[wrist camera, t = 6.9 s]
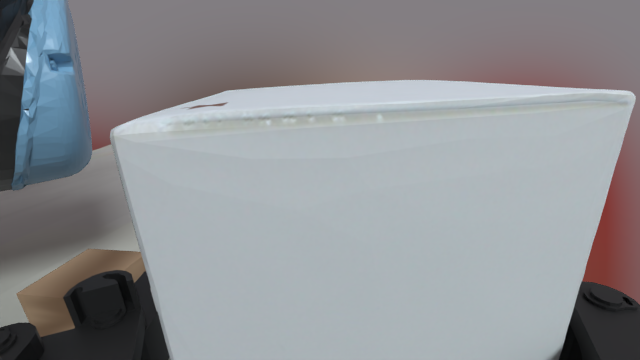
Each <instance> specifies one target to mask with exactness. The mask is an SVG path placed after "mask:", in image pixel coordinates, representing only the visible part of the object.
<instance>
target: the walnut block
mask: <svg viewBox="0 0 640 360" xmlns="http://www.w3.org/2000/svg"><path fill="white" fill-rule="evenodd" d="M113 270H123V271H127V272H129V273H131V274H132V277H133V280H134V283H135V282H136V281H137V280H138V278H139V277H140V276H141V275H142V274H143V273H144V271H146V269H145V265H144V262H143V258H142V255H141V252H133V251H117V250H100V249H87V250H86V251H84V252H82V253H81V254H79V255H78V256H76V257H74V258H73V259H71V260H70V261H68V262H66V263H65V264H63V265H62V266H60V267H58V268H57V269H55V270H54V271H52V272H50V273H49V274H47V275H46V276H44V277H42V278H41V279H39V280H38V281H36V282H34V283H33V284H31V285H30V286H28V287H26V288H25V289H23V290H22V291H20V292H18V293H17V297H18V299H19V301H20V303H21V305H22V307H23V309H24V312H25V314H26V316H27V318H28V320H29V322H30V323H31V324H33V325H34V326H36V329H37V331H38V333H39V335H40V337H43V336H47V335H51V334H55V333H58V332H62V331H66V330H70V329H74V328H75V326H74V323H73V321H72V318H71V316H70V314H69V311H68V309H67V306H66V304H65V301H64V299H63V297H64V295H65V294H66V293H67V292H68V291H69V289H71V288H72V287H74V286H75V285H76V284H78V283H79V282H81V281H83V280H85V279H87V278H89V277H91V276H93V275H96V274H99V273H103V272H106V271H113Z"/></svg>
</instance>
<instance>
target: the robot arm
mask: <svg viewBox="0 0 640 360" xmlns="http://www.w3.org/2000/svg"><path fill="white" fill-rule="evenodd" d="M91 155H92V141H91V131H90V122H89V115H88V107H87V100H86V94H85V88H84V81H83V75H82V69H81V62H80V56H79V51H78V45H77V40H76V34H75V29H74V24H73V20H72V16H71V13H70V10H69V6H68V0H0V191H5V190H11V189H12V190H13V191H14V190H19V189H22V188H24V187H25V186H26V185H30V184H35V183H40V182H44V181H49V180H54V179H59V178H64V177H69V176H72V175H73V174H76V173H78V172H80V171H81V170H82V169H83V168H84V167H85V166H86V165H87V164H88V163H89V161H90V159H91ZM63 299H64V301H65V304H66V306H67V309H68V311H69V314H70V316H71V318H72V321H73V323H74V326H75V328H74V329H70V330H66V331H62V332H58V333H55V334H51V335H47V336H43V337H40V335H39V333H38V331H37V329H36V326H34V325H33V324H31V323H16V324H12V325H8V326H4V327H1V328H0V360H168V359H169V358H170V356H169V352H168V349H167V345H166V342H165V338H164V334H163V330H162V327H161V323H160V319H159V315H158V312H157V308H156V304H155V301H154V297H153V294H152V290H151V287H150V283H149V280H148V276H147V273H146V271H144V273H143V274H142V275H141V276H140V277H139V278H138V280H137V281H136V282H135V283H134V280H133V277H132V274H131V273H129V272H127V271H123V270H113V271H106V272H103V273H99V274H96V275H93V276H91V277H89V278H87V279H85V280H83V281H81V282H79V283H78V284H76V285H75V286H74V287H72V288H71V289H69V291H68V292H67V293H66V294H65V295H64V297H63ZM559 360H640V305H639V304H638V303H637V302H636V301H635V300H634V299H632V298H630V297H629V296H627V295H626V294H624V293H622V292H620V291H618V290H615V289H613V288H610V287H608V286H604V285H601V284H597V283H593V282H581V285H580V288H579V291H578V295H577V298H576V302H575V306H574V309H573V313H572V316H571V319H570V323H569V326H568V329H567V333H566V337H565V341H564V344H563V348H562V351H561V354H560V357H559Z"/></svg>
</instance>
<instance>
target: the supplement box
mask: <svg viewBox="0 0 640 360" xmlns="http://www.w3.org/2000/svg"><path fill="white" fill-rule="evenodd" d="M634 103H635V95H634V94H633V93H632V92H628V91H622V90H601V89H581V88H580V89H579V88H561V87H545V86H528V85H512V84H496V83H479V82H460V81H436V80H397V81H372V82H348V83H331V84H315V85H299V86H282V87H268V88H254V89H242V90H230V91H225V92H222V93H219V94H216V95H212V96H209V97H206V98H203V99H199V100H196V101H192V102H188V103H185V104H182V105H178V106H175V107H172V108H169V109H165V110H162V111H159V112H156V113H153V114H149V115H146V116H143V117H140V118H137V119H135V120H132V121H130V122H127V123H125V124H122V125H119V126H117V127H115V128H114V129H112V130H111V134H110V139H111V144H112V148H113V151H114V155H115V159H116V163H117V167H118V171H119V174H120V178H121V182H122V186H123V189H124V193H125V196H126V200H127V204H128V207H129V211H130V215H131V218H132V222H133V225H134V229H135V233H136V236H137V240H138V244H139V248H140V251H141V255H142V258H143V262H144V265H145V269H146V273H147V276H148V280H149V283H150V287H151V290H152V294H153V297H154V301H155V304H156V308H157V312H158V315H159V319H160V323H161V327H162V330H163V334H164V338H165V342H166V345H167V349H168V352H169V356H170V360H559V357H560V354H561V351H562V348H563V344H564V341H565V337H566V333H567V329H568V326H569V323H570V319H571V316H572V313H573V309H574V306H575V302H576V298H577V295H578V291H579V288H580V285H581V282H582V279H583V276H584V272H585V268H586V263H587V260H588V257H589V254H590V250H591V247H592V243H593V240H594V237H595V234H596V231H597V227H598V224H599V221H600V217H601V214H602V210H603V207H604V204H605V200H606V196H607V193H608V190H609V186H610V182H611V179H612V175H613V172H614V168H615V165H616V162H617V159H618V156H619V152H620V149H621V146H622V142H623V139H624V135H625V132H626V129H627V125H628V122H629V119H630V115H631V112H632V109H633V106H634Z"/></svg>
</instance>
